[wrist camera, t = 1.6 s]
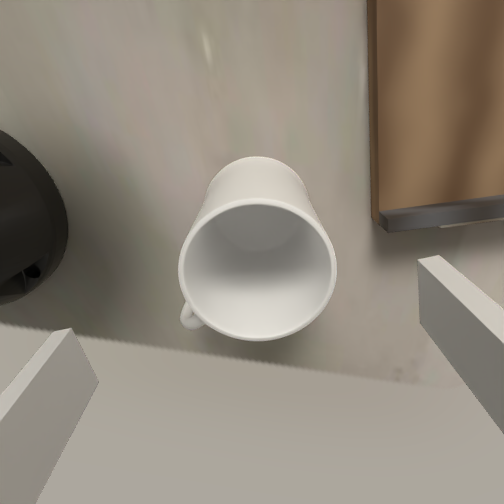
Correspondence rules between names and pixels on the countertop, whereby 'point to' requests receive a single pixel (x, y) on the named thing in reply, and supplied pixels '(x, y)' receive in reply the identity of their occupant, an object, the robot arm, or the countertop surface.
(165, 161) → the countertop surface
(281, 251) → the mug
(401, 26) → the flat wooden box
